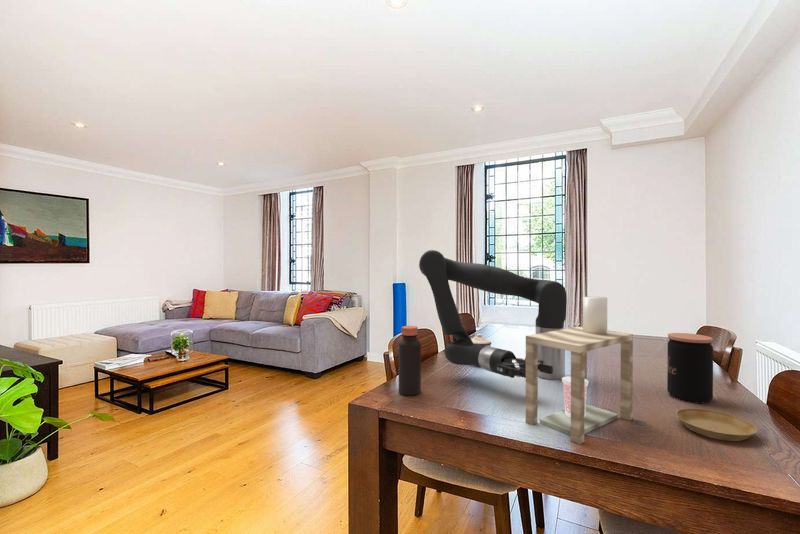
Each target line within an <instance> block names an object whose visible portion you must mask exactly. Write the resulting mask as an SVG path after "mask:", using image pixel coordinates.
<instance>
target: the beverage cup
mask: <svg viewBox="0 0 800 534" xmlns="http://www.w3.org/2000/svg"><path fill="white" fill-rule="evenodd" d="M561 381H562V385H563V386H562V387H563V400H564V401H563V403H564V410H565V414H566V415H567V416H568V417H571V375H570V376H566V375H564V377H563V378H562V379H561ZM588 386H589V380H588V379H585V395H584V418H585V411H586V397H587V398H588V394H587V393H588Z"/></svg>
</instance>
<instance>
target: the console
mask: <svg viewBox="0 0 800 534" xmlns="http://www.w3.org/2000/svg"><path fill="white" fill-rule="evenodd" d="M618 344H620V391H619V392H620V394H619V395H620V400H619V401H620V402H619V403H620V404H619V405H620V413H619V414H618V413H616V412H613V411H609V410H606V409H604V408H599V407H597V406H594V405H591V404H588V403H587V402H588V401H587V400H588V399H587V398H588V396H587V397H586V411H585V418H584V395H585V379H587V378H588V374H587V373H588V372H587V371H588V351H589V352H590V351H593V350H598V349H602V348H606V347H609V346H610V347H611V346H614V345H618ZM538 345H543V346H548V347H553V348H558V349H563V350H565V351H568V352H569V351H570V376H571V417H568V416H567V415H566V414H565V409H563V410H560V411H558V412H555V413H552V414H550V415H546V416H544V417H541V418H539V424H541V425H542V426H543V425H544V426H546V427H549V428H551V429H554V430H556V431H558V432H562V433H563V434H566V435H569V436H570V442H572V443H575V444H577V445H581V444H584V443H585V434H586V433H587V434H588V433H589V432H592V431H593V430H596V429H598V428H600V427H603V426H604V425H607V424H608V423H611V422H613V421H615V420H618V419H619V415H620V419H623V420H625V421H631V420H633V418H634V417H633V416H634V415H633V414H634V413H633V409H634V407H633V406H634V405H633V404H634V403H633V402H634V401H633V400H634V399H633V397H634V395H633V393H634V391H633V390H634V387H633V385H634V382H633V381H634V380H633V379H634V374H633V373H634V372H633V370H634V365H633V364H634V334H633V333H627V332H622V331H621V332H620V331H615V330H614V331H613V330H608V329H607V334H591V333H586V332H583V326H575V327H569V328H564V329H563V330H557V331H551V332H545V333H539V334H536V333H535V334H529V335H525V358H526V378H525V423H526V424H528V425H531V426H534V425H537V424H538V411H539V409H538V408H539V407H538V396H539V395H538V394H539V393H538V389H539V388H538V387H539V386H538V383H539V381H538V379H539V377H538ZM587 380H588V379H587Z"/></svg>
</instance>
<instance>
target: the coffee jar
mask: <svg viewBox="0 0 800 534" xmlns="http://www.w3.org/2000/svg"><path fill="white" fill-rule="evenodd" d="M667 338H668V340H669V341H667V365H666V366H667V372H666V373H667V376H666V377H667V379H666V380H667V382H666V383H667V386H666V387H667V391H666V392H667V393H669V395H670V396H671V397H672V396H673V397H672V398H674V397H675V398H674V399H676V398H678V399H677V400H679V399H680V400H679V401H682V400H684V401H683V402H686V401H690V402H689V403H692V402H698V403H697V404H706V403H705V402H708V403H710V402H711V401H712V400H713V398H714V347H713V345H712V343H713V342H714V338H713V337H711V336H708V335H703V334H697V333H689V332H688V333H687V332H670V333H667ZM709 401H710V402H709ZM702 402H704V403H702Z"/></svg>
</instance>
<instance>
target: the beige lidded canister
mask: <svg viewBox="0 0 800 534" xmlns="http://www.w3.org/2000/svg"><path fill="white" fill-rule="evenodd" d="M471 340H472V342H473V344H474V345H483V346H487V347H492V345H491V344H492V342H491V340H490V339H487V338H486V337H483V334H481V333H477V334H476V336H474V337H473V338H471ZM470 366H472V367H477V366H474V365H470ZM477 368H478V367H477Z"/></svg>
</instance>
